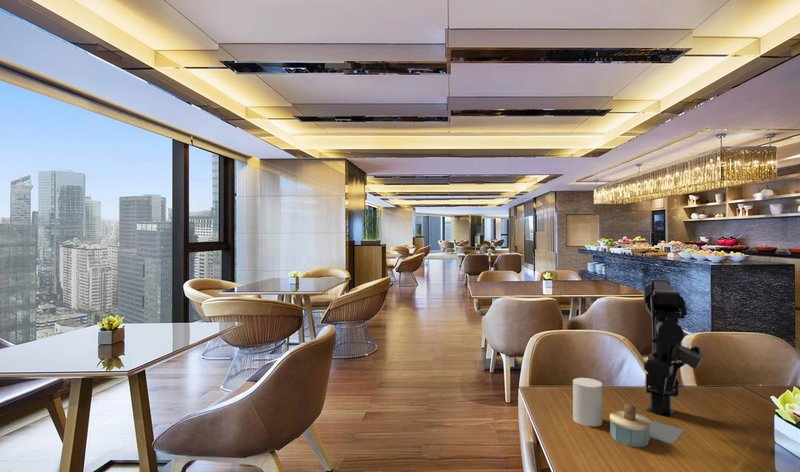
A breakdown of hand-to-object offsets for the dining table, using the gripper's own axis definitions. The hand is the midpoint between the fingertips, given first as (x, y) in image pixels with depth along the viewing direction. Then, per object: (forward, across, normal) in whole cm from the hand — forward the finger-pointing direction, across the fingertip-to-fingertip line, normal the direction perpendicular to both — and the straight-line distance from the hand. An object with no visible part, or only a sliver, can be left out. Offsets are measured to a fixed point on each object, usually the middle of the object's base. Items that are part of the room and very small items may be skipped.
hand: (666, 390), depth 122 cm
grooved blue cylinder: (+12, -11, +6) cm, 18 cm away
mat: (+12, 0, +3) cm, 13 cm away
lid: (+8, -11, +6) cm, 15 cm away
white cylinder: (+13, -8, +19) cm, 24 cm away
